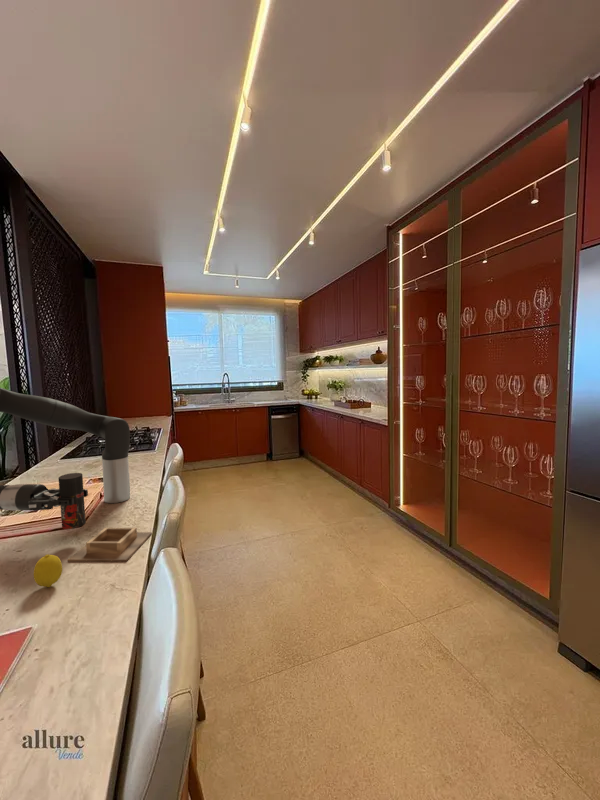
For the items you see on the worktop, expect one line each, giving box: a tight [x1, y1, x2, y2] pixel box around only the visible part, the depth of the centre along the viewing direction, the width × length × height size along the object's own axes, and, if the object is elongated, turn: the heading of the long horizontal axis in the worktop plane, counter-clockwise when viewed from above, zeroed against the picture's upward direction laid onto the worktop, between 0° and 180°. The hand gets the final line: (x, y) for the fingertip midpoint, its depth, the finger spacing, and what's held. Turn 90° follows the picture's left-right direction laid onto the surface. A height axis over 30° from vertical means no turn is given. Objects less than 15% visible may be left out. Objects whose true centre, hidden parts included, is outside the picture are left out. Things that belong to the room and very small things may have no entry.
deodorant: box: [58, 472, 86, 530], centre depth 103 cm, size 6×6×15 cm
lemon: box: [33, 553, 63, 588], centre depth 82 cm, size 6×6×8 cm
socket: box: [67, 527, 153, 563], centre depth 102 cm, size 16×16×4 cm
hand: (80, 497), depth 103 cm, fingers closed on deodorant, 6 cm apart
